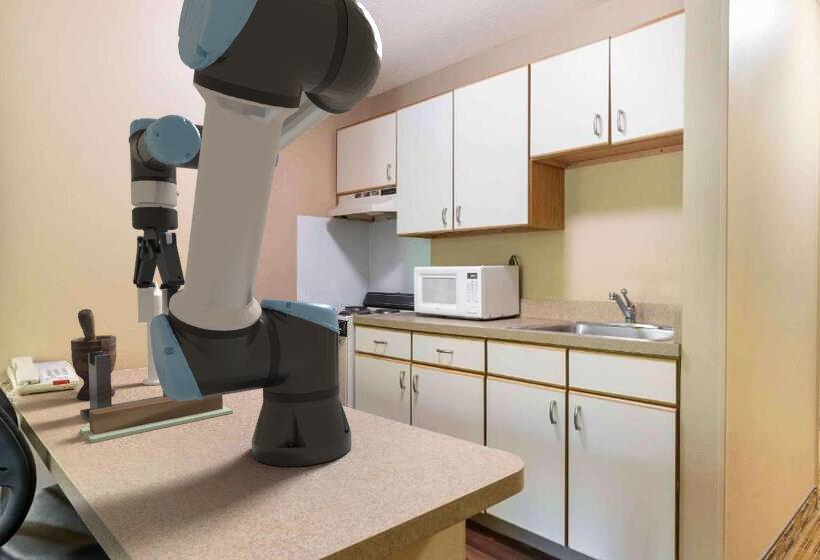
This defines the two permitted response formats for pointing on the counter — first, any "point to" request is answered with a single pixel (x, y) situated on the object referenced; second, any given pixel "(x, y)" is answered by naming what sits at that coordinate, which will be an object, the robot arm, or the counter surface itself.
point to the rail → (148, 412)
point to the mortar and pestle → (90, 350)
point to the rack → (102, 384)
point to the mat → (152, 425)
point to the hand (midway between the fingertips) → (158, 324)
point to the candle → (152, 372)
